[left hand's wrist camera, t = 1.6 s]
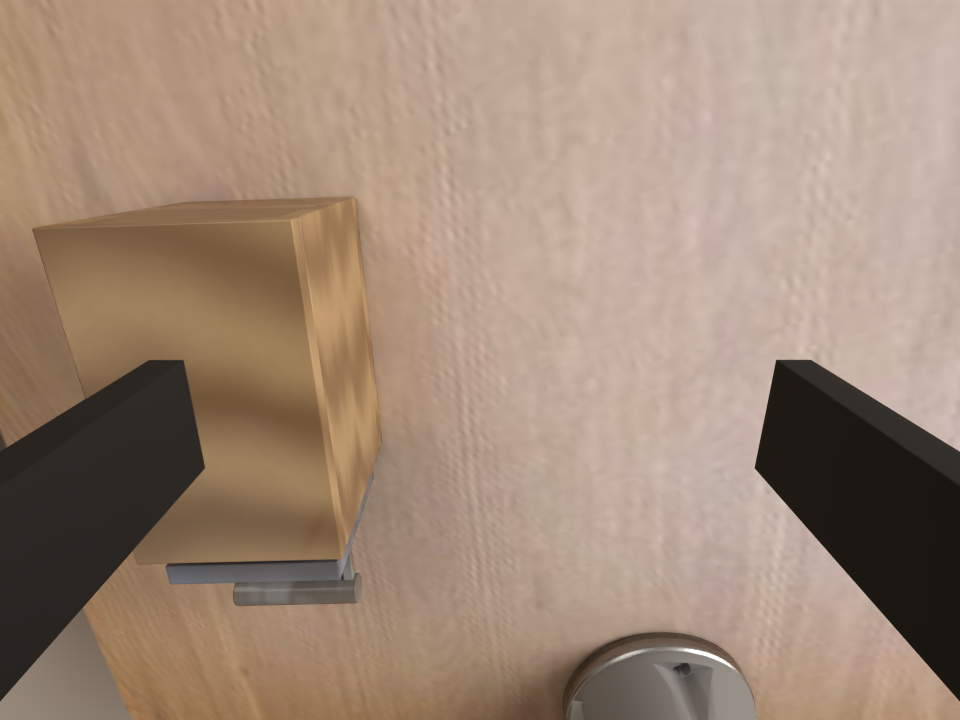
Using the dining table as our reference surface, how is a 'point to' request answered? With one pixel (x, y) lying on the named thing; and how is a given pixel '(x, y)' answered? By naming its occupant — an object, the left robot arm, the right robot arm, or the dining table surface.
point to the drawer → (281, 577)
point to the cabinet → (236, 361)
